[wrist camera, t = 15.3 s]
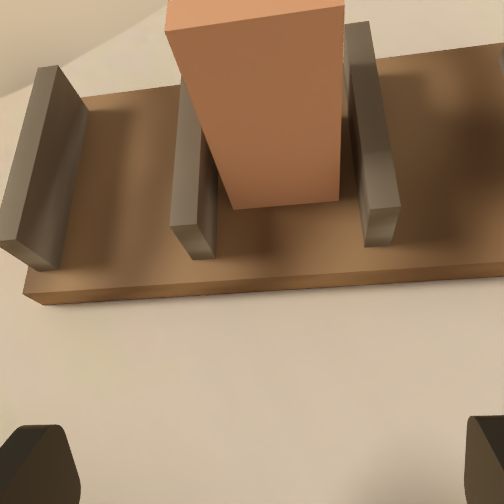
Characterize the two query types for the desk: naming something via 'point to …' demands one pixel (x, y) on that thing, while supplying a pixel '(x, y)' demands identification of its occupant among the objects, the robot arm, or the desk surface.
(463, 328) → the desk surface
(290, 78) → the terracotta block
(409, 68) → the walnut rack
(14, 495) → the robot arm
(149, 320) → the desk surface
